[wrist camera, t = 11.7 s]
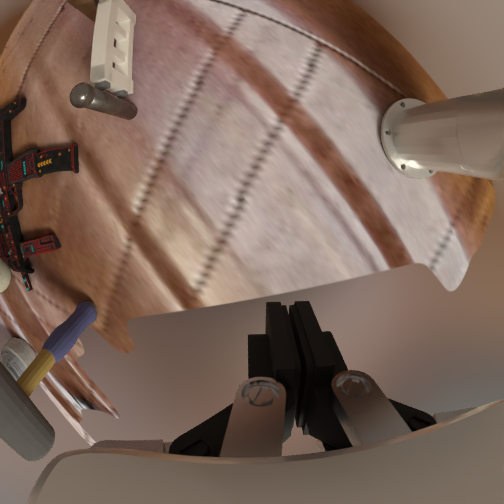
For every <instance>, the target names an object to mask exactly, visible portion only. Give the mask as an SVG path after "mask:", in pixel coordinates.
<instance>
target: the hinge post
mask: <svg viewBox="0 0 504 504" xmlns="http://www.w3.org/2000/svg"><path fill="white" fill-rule="evenodd" d="M70 102H71V104H72V105H73V106H74V107H76V108H88V109H92V110H95V111H99V112H103V113H106V114H110V115H113V116H117V117H120V118H123V119H127V120H130V119H133V118H134V117H135V116H136V114H137V107H136V106H135V105H134V104H132V103H129V102H127V101H125V100H123V99H120V98H118V97H116V96H114V95H111V94H109V93H107V92H104V91H102V90H99V89H97V88H95V87H93V86H92V85H91V84H90V83H87V82H83V83H79V84H77V85H76V86H75V87H74V88H73V89H72V91H71V93H70Z"/></svg>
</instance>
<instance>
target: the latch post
mask: <svg viewBox="0 0 504 504" xmlns="http://www.w3.org/2000/svg"><path fill="white" fill-rule="evenodd" d="M68 2H69V3H70V4H71V5H73V6H74V7H75V8H77V9H78V10H79V11H81V12H82V13H83V14H85V15H86V16H87V17H88V18H90V19H91V20H92V21H93V22H95V20H96V14H97V8H98V2H99V0H68ZM116 23H117V22H116ZM117 24H118V23H117Z"/></svg>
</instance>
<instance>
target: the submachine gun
mask: <svg viewBox="0 0 504 504" xmlns="http://www.w3.org/2000/svg"><path fill="white" fill-rule="evenodd" d="M25 106H26V99H25V98H19V99H17V100H16V101H14V102H12V103H10V104H9V105H7V106H5V107H4V108H2V109H0V256H1V257H2V258H3V259H4V258H5V261H6V262H7V263H8V265H9V266H10V267H11V269H12V270H13V271H16V272H21V275H22V277H23V280H24V283H25V286H26V289H27V291H30V290H32V289H33V288H32V285H31V282H30V279H29V276H28V274H27V273H33V272H34V269H33V268H31V267H30V265H29V259H28V257H29V256H32V255H37V254H41V253H46V252H51V251H55V250H57V249H59V248H61V245H60V243H59V240H57V238H56V236H55V234H47V235H44V236H42V237H39V238H36V239H32V240H29V241H28V240H26V241H23V237H22V233H21V228H20V224H19V221H18V218H17V214H18V212H19V211H20V210H21V209H22V207H23V200H22V189H21V188H22V184H23V183H21V182H23V181H26V180H28V179H31V178H34V177H39V178H40V177H42V175H43V174H47V173H52V172H57V171H73V172H74V173H78V172H79V162H78V145H75V144H72V147H66V148H58V149H51V150H47V151H43V152H40V149H38V148H31V149H29V150H27V151H25V152H23V153H22V154H20V155H19V156H18V157H16V158H15V159H14V160H13V157H12V144H11V120H12V119H13V118H14V117H15V116H16V115H18V114H19V113H20V112H21V111H22V110H23V109H24V108H25ZM14 187H15V189H16V190H15V191H16V193H15V192H14ZM14 194H15V195H16V197H17V199H18V203H19V205H18V209H17V206H16V201H15V196H14ZM26 279H27V281H28V284H29V287H28V285H27V282H26Z"/></svg>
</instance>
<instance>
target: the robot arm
mask: <svg viewBox="0 0 504 504" xmlns="http://www.w3.org/2000/svg"><path fill="white" fill-rule="evenodd" d="M385 131H386V133H385ZM381 141H382V145H383V149H384V151H385V153H386V156H387V158H388V159H389V161H390V162H391V164H392V165H393V166H394V167H395V168H396V169H397V170H398V171H399V172H401V173H402V174H404V175H406V176H408V177H412V178H417V179H423V178H428V177H430V176H432V175H434V174H435V173H436V172H437V171H441V172H448V173H455V174H461V175H468V176H473V177H479V178H485V179H491V180H500V179H504V88H502V89H498V90H493V91H488V92H483V93H477V94H472V95H466V96H461V97H456V98H451V99H446V100H441V101H436V102H432V103H427V104H426V103H424V102H423V101H420V100H418V99H413V98H406V99H401V100H398V101H396V102H394V103H393V104H392V105H391V106H389V108H388V109H387V110H386V112H385V114H384V116H383V119H382V123H381ZM248 376H249V379H248V380H246V381H244V382H243V383H241V385H239V387H238V389H237V391H236V395H235V399H234V403H232V404H231V405H229V406H228V407H226V408H225V409H223V410H222V411H220V412H219V413H217V414H215V415H214V416H212V417H211V418H209V419H208V420H206V421H204V422H203V423H201V424H199V425H198V426H196V427H194V428H193V429H191V430H189V431H188V432H186V433H184V434H183V435H181V436H179V437H178V438H177V439H175V440H174V441H173V442H165V443H164V441H163V440H137V441H136V440H134V441H122V440H121V441H120V440H119V441H118V440H104V441H99V442H97V443H95V444H94V445H93V446H92V447H91V448H88V449H78V450H72V451H68V452H64V453H62V454H60V455H58V456H56V457H55V458H54V459H53V460H52V461H51V462H50V463H49V464H48V465H47V466H46V467H45V469H44V470H43V472H42V473H41V475H40V476H39V478H38V479H37V481H36V483H35V485H34V487H33V489H32V491H31V493H30V495H29V497H28V499H27V502H26V504H504V400H499V401H495V402H493V403H489V404H486V405H484V406H481V407H479V408H468V409H462V410H456V411H449V412H441V413H434V415H433V416H431V415H429V414H427V413H425V412H423V411H420V410H418V409H415V408H412V407H409V406H407V405H404V404H401V403H399V402H396V401H394V400H391V399H389V398H387V397H386V396H385V394H384V393H383V392H382V390H381V389H380V388H379V386H378V385H377V384H376V382H375V381H374V379H372V378H371V377H370V376H369V375H368V374H366V373H364V372H361V371H356V370H348V369H347V366H346V364H345V362H344V360H343V357H342V355H341V353H340V351H339V348H338V346H337V344H336V342H335V340H334V338H333V335H332V333H331V332H330V331H326V332H322V331H321V329H320V326H319V324H318V321H317V319H316V316H315V314H314V312H313V309H312V307H311V305H310V302H309V301H296V302H295V303H294V305H290V306H289V315H288V311H287V307H286V305H281V303H280V302H267V303H266V334H256V335H255V334H254V335H253V334H252V335H248ZM294 419H295V420H296V426H297V427H302V430H303V435H308V434H309V435H311V436H313V437H315V438H316V439H317V440H316V443H317V447H318V449H319V453H311V454H302V455H291V456H282V444H283V442H285V441H286V440H287V439H288V438H289V437H290V436H291V430H292V428H293V424H294Z"/></svg>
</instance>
